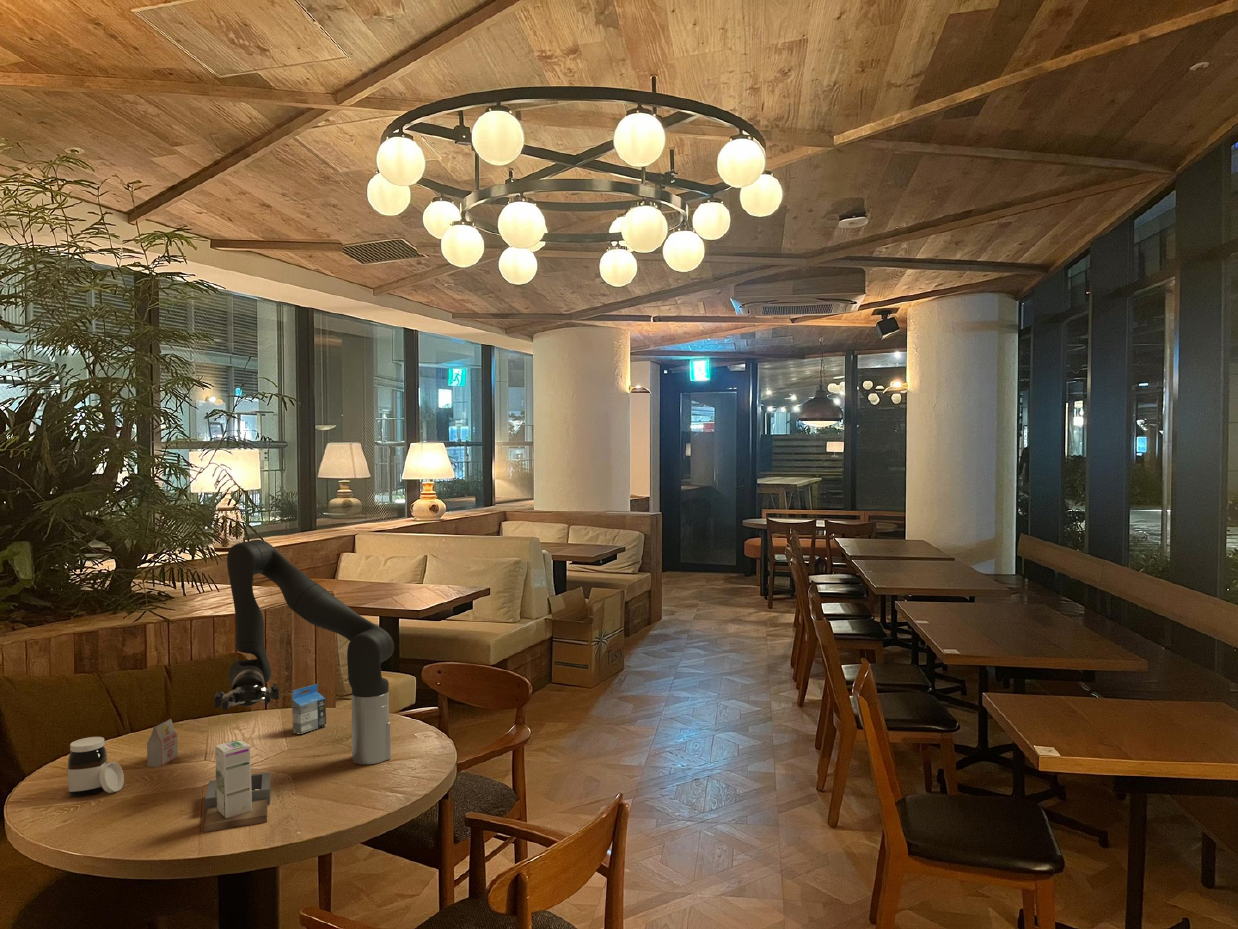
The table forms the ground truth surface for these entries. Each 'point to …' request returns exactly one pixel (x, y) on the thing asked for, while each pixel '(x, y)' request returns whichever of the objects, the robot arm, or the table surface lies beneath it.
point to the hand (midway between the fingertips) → (246, 703)
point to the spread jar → (92, 768)
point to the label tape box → (308, 709)
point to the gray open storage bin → (257, 782)
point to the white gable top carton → (162, 745)
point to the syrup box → (233, 778)
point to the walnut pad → (236, 817)
